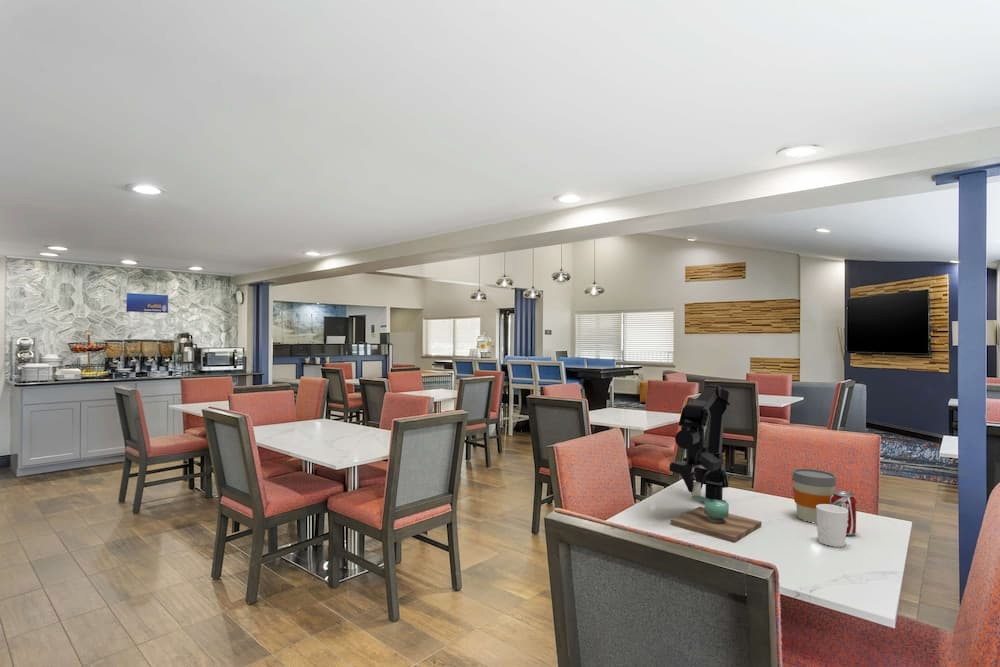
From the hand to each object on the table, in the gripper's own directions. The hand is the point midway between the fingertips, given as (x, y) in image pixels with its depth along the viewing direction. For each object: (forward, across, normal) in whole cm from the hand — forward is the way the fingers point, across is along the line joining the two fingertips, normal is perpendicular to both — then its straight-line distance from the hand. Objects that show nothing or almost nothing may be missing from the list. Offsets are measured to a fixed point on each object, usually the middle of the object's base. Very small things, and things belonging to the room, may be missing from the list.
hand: (695, 490), depth 180 cm
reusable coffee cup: (+10, +32, -21) cm, 40 cm away
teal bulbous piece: (+5, -1, -5) cm, 7 cm away
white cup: (+9, +16, -35) cm, 39 cm away
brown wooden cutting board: (+8, -1, -9) cm, 12 cm away
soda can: (+10, +27, -32) cm, 43 cm away
